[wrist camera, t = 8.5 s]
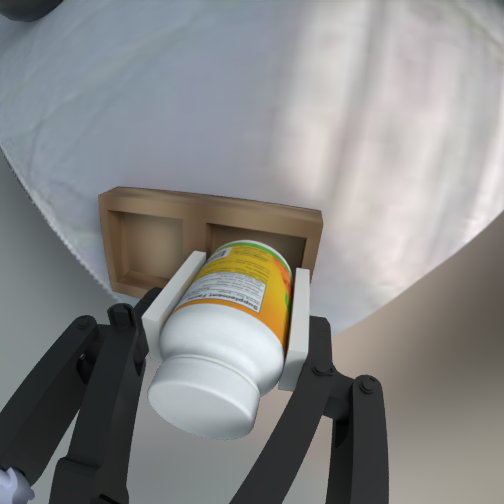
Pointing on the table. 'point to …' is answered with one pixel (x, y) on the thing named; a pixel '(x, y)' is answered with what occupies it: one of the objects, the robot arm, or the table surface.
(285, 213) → the compartment tray
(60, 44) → the table surface
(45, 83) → the table surface
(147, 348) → the robot arm
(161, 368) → the supplement bottle
